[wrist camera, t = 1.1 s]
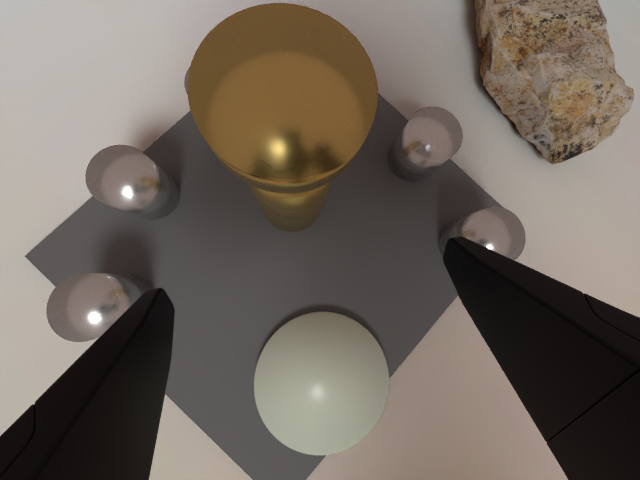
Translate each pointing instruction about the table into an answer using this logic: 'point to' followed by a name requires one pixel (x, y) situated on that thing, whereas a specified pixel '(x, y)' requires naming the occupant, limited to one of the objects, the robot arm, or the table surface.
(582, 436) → the robot arm
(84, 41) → the table surface
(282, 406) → the pad
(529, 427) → the table surface
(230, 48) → the brass sleeve
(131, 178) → the spacers
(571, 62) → the stone
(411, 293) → the mat
